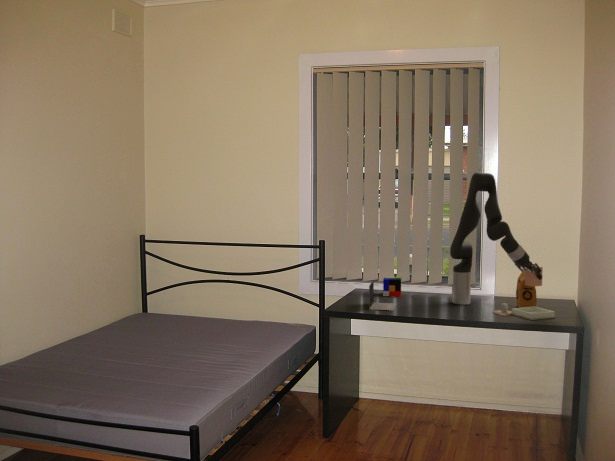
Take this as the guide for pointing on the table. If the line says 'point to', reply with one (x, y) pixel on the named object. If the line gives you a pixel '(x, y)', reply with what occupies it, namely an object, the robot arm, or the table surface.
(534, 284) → the pink rounded block
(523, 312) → the tray
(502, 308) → the candle holder
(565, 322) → the table surface
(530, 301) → the coffee package
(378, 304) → the laptop
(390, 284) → the puzzle toy
